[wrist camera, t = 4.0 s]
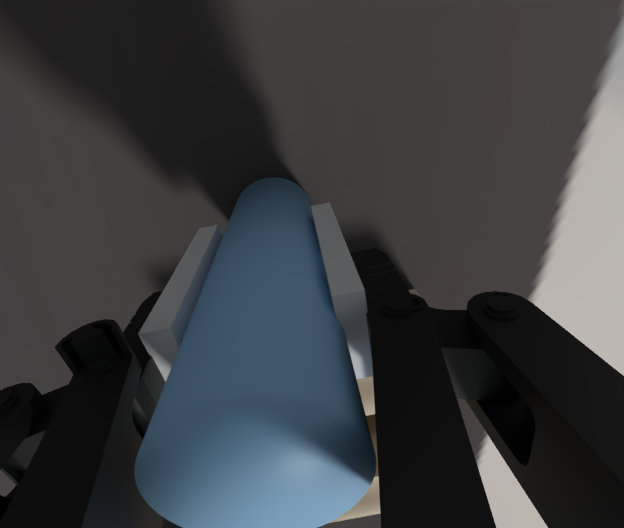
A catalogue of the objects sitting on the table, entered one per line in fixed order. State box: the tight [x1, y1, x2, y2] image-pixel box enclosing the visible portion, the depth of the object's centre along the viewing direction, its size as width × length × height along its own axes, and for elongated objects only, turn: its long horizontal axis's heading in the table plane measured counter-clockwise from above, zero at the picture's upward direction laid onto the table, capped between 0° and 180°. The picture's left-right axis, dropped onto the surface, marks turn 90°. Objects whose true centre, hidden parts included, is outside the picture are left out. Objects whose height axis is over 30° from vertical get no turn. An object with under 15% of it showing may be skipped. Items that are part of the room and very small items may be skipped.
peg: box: [134, 177, 376, 528], centre depth 12 cm, size 4×4×13 cm
